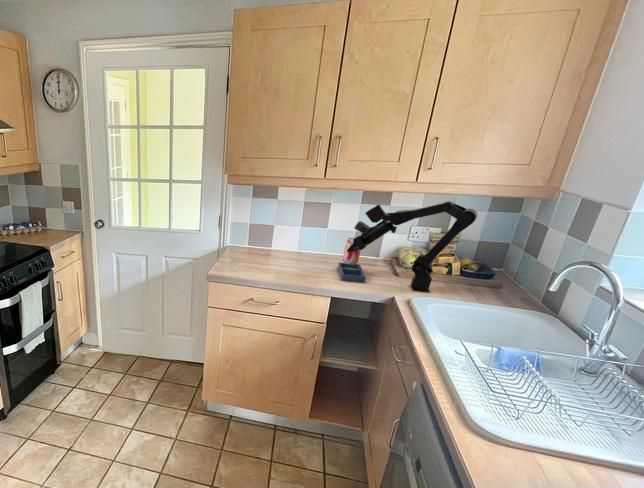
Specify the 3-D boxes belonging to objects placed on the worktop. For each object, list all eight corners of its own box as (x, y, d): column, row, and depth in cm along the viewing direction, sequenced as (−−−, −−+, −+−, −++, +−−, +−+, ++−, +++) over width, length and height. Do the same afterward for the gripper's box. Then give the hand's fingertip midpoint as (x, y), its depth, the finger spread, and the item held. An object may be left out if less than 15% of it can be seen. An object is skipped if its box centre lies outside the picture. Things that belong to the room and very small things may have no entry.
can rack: (358, 269, 212) (360, 264, 211) (364, 282, 195) (365, 276, 194) (337, 267, 214) (338, 262, 213) (341, 280, 198) (342, 274, 196)
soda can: (339, 261, 206) (343, 238, 202) (351, 260, 208) (355, 237, 203) (348, 265, 200) (353, 241, 195) (361, 264, 202) (365, 240, 197)
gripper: (373, 213, 199) (345, 232, 210) (361, 220, 186) (333, 240, 197) (387, 232, 197) (359, 250, 208) (377, 240, 184) (347, 259, 195)
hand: (349, 249), depth 202 cm, fingers closed on soda can, 7 cm apart
